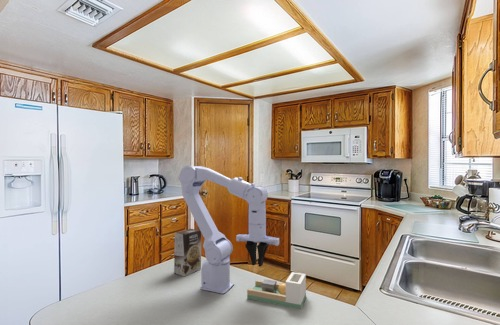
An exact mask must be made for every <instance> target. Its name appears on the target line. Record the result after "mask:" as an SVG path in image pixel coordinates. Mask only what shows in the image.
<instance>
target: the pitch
mask: <svg viewBox="0 0 500 325" xmlns="http://www.w3.org/2000/svg"><path fill="white" fill-rule="evenodd" d="M263 281H264V280H259V279H256V280H255V281H254V283H255V284H254V286H253V288H247V290H246V297H247V299H249V300H254V301H259V302H264V303H267V304H274V305H279V306H284V307H287V308H288V307H289V308H293V309H298V310H302V307H303V306H304V303H305V300H306V298H307V274H306V273H303V272H296V271H295V272H294V271H292V272H290V274H289V275H288V277H287V279H286V280H285V284H286V295H281V294H280V293H279V292H278V287H279V285H280V284H281V283H277V291H276V292H275V293H270V292H265V291H262V282H263Z"/></svg>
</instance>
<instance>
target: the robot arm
mask: <svg viewBox="0 0 500 325" xmlns="http://www.w3.org/2000/svg"><path fill="white" fill-rule="evenodd" d="M178 180H179V182H180V185H181V193H182V197H183V199H184V201H185V203H186V205H187V207H188V209H189V211H190V213H191V215H192V217H193V220H194V221H195V223H196V225H197V227H198V230H200V231H201V236H203V239H204V240H203V244H202V247H203V249H204V256H205V260H204V261H203V263H202V264H201V269H200V271H201V272H200V273H201V280H200V281H201V283H200V284H201V286H200V287H199V289H200V290H204V291H207V292H212V293H213V292H214V293H218V294H223V295H224V294H226V293H227V292H228V291H229V290H230V289H231V288H233V287H234V286H235V282H232V281H230V280H231V270H230V269H231V266H230V265H231V259H230V255H231V254H232V252H233V249H234V248H233V247H234V246H233V244H232V242H231V241H230V240H229V239H228V238H227V237H226V235H225V234H224V233H222V232H220V230H218V226H216V224H215V222H214V219H213V217H212V216H211V214H210V213H209V210H208V209H207V207H206V205H205V203H204V201H203V199H202V197H201V195H200V191H201V188H202V187H203V185H204V183H205V182H206V181H210V182H212V183H214V184H217V185H220V186H222V187H225V188H227V190H228V191H227V192H228V193H229V194H231V195H233V196H236V197H238V198H240V199H243V200H245V201H246V202H247V204H248V234H245V233H244V234H242V233H241V234H240V233H239V234H237V235H235V236H236V237H235V240H236V242H244V243H245V242H246V243H245V249H246V251H247V253H248V255H249V257H250V261H251V265H252V266H253V267H254V266H256V264H258V267H262V266H263V265H264V259H265V256H266V252H267V250H268V247H269V246H270V245H274V246H277V247H278V246H279V245H280V237H275V236H274V237H273V236H270V235H267V213H266V212H267V209H266V205H267V204H266V201H267V199H268V196H269V195H268V194H269V193H268V191H267V189H266V188H265V187H263V186H262V185H258V186H256V183H254V182H252V183H250V182H247V181H245V180H244V178H243V177H241V176H239V177H234V178H230V177H227V176H225V175H224V174H221V173H220V172H218V171H216V170H213V169H211V168H210V167H205V166H203V165H198V166H197V165H196V166H195V165H194V166H193V165H184V166H182V168H181V169H180V172H179V174H178ZM257 254H258V256H257ZM257 257H258V258H257ZM257 260H258V263H257Z"/></svg>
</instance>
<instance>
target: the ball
mask: <svg viewBox="0 0 500 325" xmlns="http://www.w3.org/2000/svg"><path fill="white" fill-rule="evenodd" d="M279 284H280V285H279V287H278V292H279V293H280V294H281V295H286V282H285V283H284V282H283V283H279Z"/></svg>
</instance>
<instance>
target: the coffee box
mask: <svg viewBox="0 0 500 325" xmlns="http://www.w3.org/2000/svg"><path fill="white" fill-rule="evenodd" d="M173 249H174V251H173V252H174V259H173V264H174V265H173V273H174V274H175V273H176V274H175V275H178V276H182V277H186V276H189V275H191V274H193V272H194V273H195V271H196V272H198V271H200V270H201V269H202V233H201V231H200V229H197V228H196V229H194V228H188V229H185V230H180V231H176V232H174V248H173ZM199 269H200V270H199ZM197 270H198V271H197Z"/></svg>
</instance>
